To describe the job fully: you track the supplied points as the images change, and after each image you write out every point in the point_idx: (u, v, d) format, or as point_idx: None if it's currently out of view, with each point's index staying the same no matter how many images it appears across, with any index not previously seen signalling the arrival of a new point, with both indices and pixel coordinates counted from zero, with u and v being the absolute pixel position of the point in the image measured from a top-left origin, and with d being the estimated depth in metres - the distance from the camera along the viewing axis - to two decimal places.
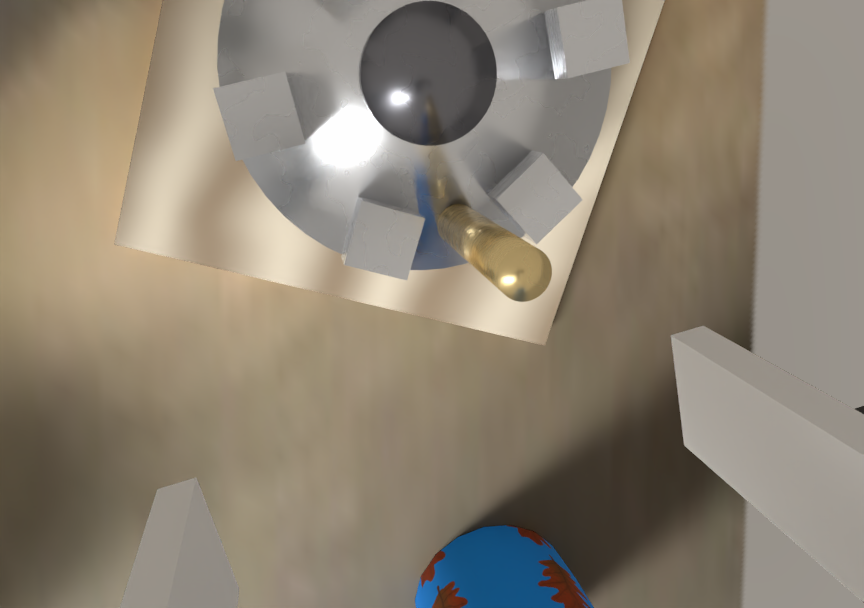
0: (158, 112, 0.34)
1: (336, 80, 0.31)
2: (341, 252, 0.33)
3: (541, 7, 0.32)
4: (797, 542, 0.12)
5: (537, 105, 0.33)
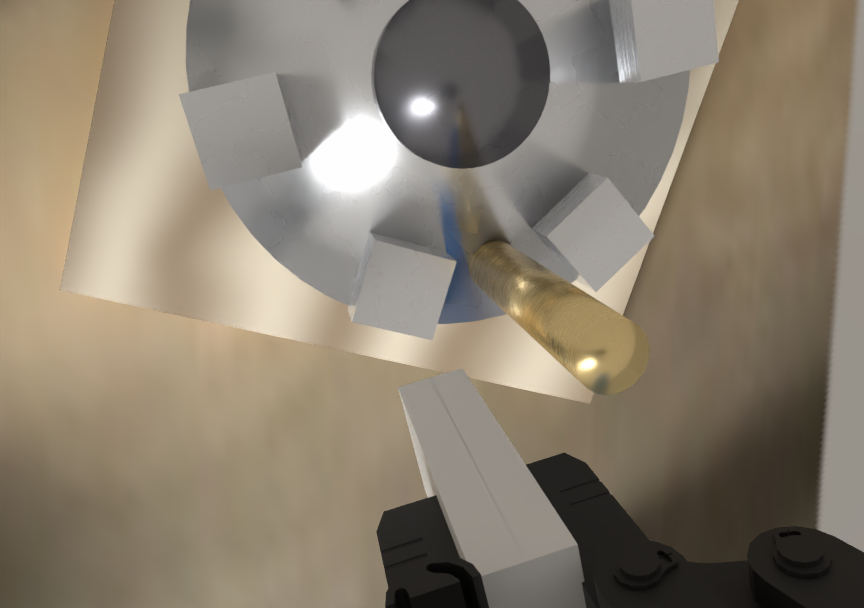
0: (114, 124, 0.27)
1: (342, 84, 0.24)
2: (347, 303, 0.26)
3: None
4: None
5: (597, 115, 0.26)
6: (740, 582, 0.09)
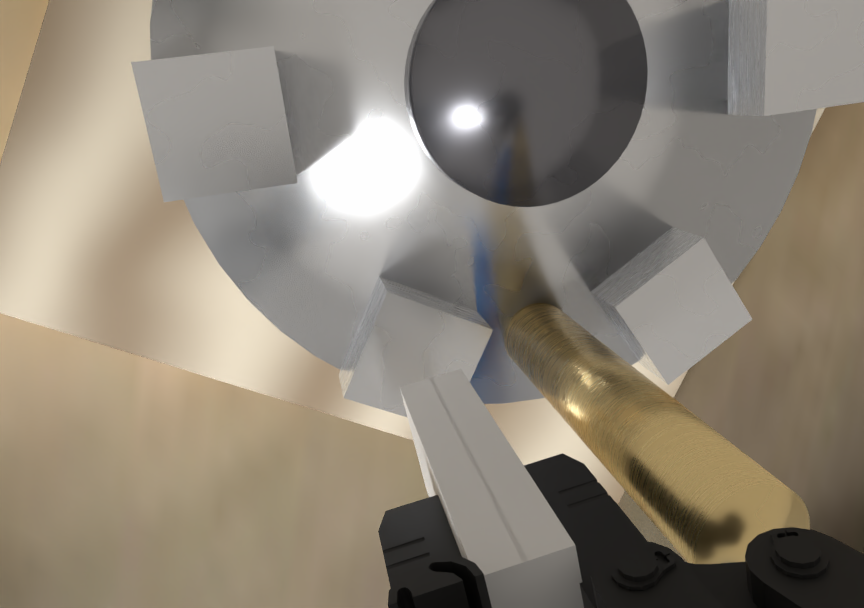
0: (54, 91, 0.20)
1: (364, 75, 0.18)
2: (340, 367, 0.20)
3: None
4: None
5: (693, 154, 0.20)
6: (737, 583, 0.09)
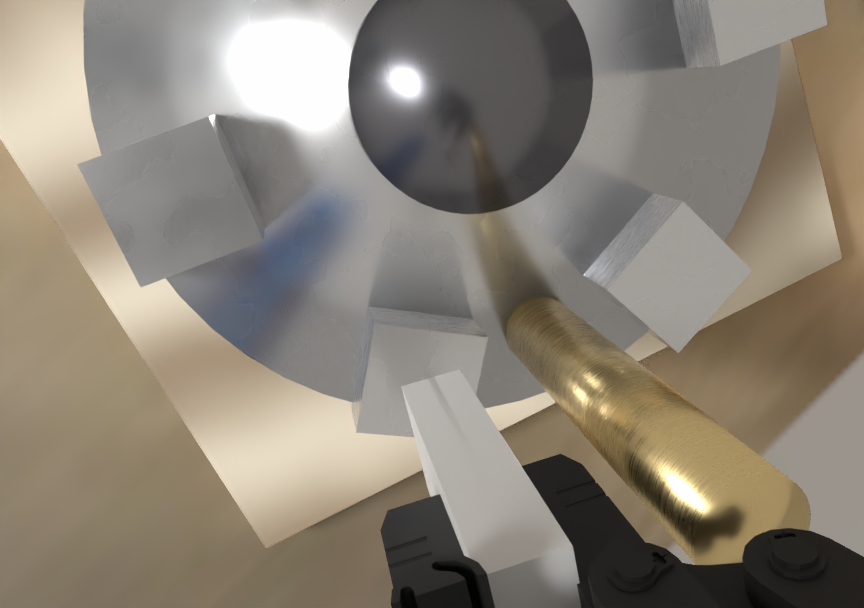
0: None
1: (308, 116, 0.18)
2: (350, 399, 0.20)
3: None
4: None
5: (658, 115, 0.19)
6: (734, 585, 0.09)
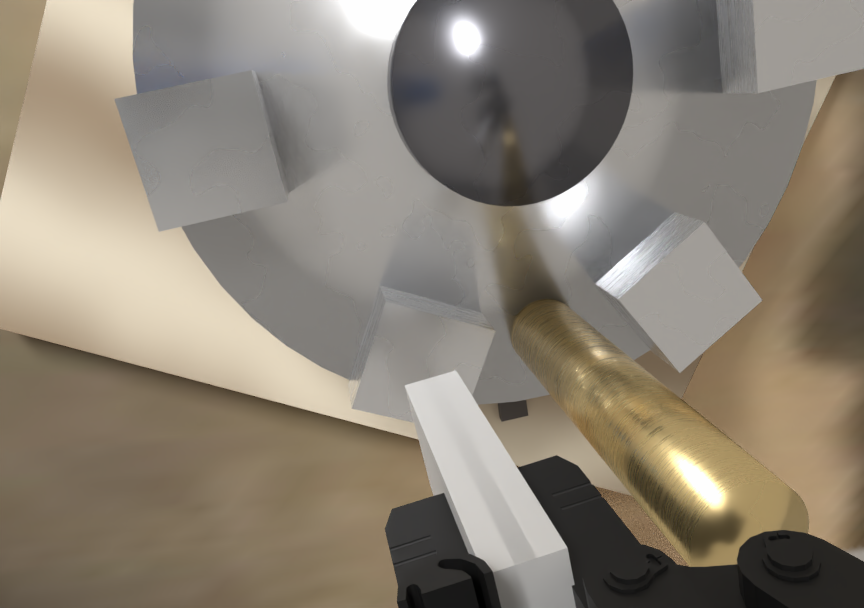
0: None
1: (347, 88, 0.18)
2: (348, 377, 0.20)
3: None
4: None
5: (689, 136, 0.19)
6: (729, 586, 0.09)
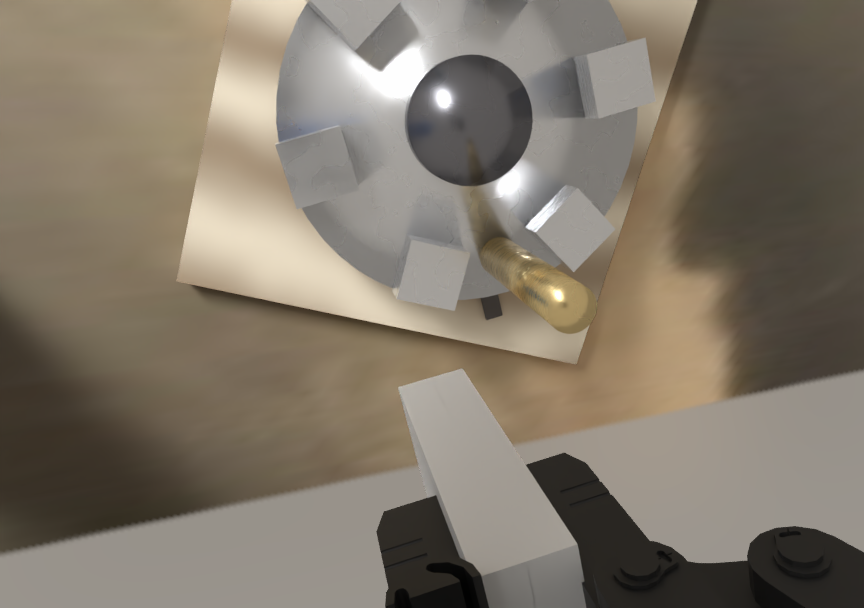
0: None
1: (384, 129, 0.34)
2: (392, 286, 0.36)
3: (570, 53, 0.34)
4: None
5: (569, 142, 0.36)
6: (739, 582, 0.09)
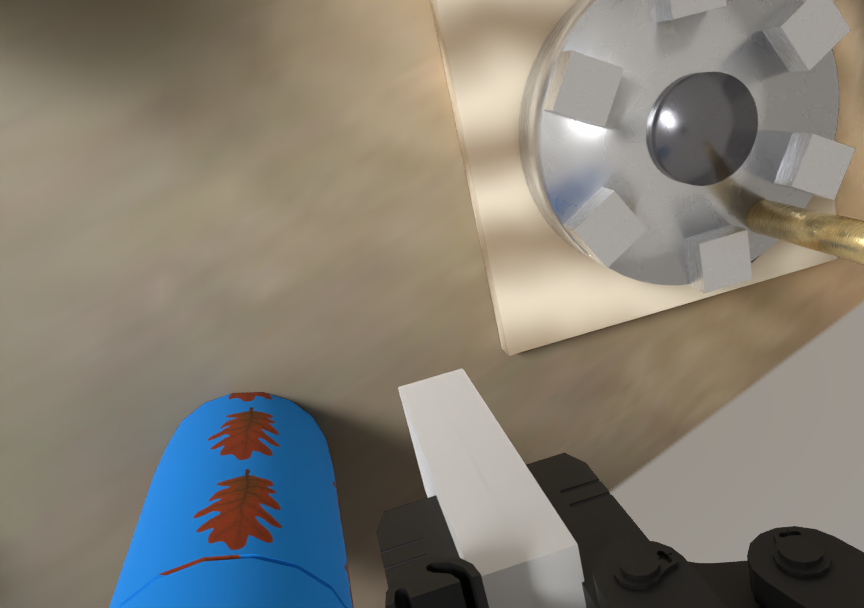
0: None
1: (637, 170, 0.39)
2: (689, 283, 0.42)
3: (757, 28, 0.38)
4: None
5: (783, 97, 0.40)
6: (739, 582, 0.09)
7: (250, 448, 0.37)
